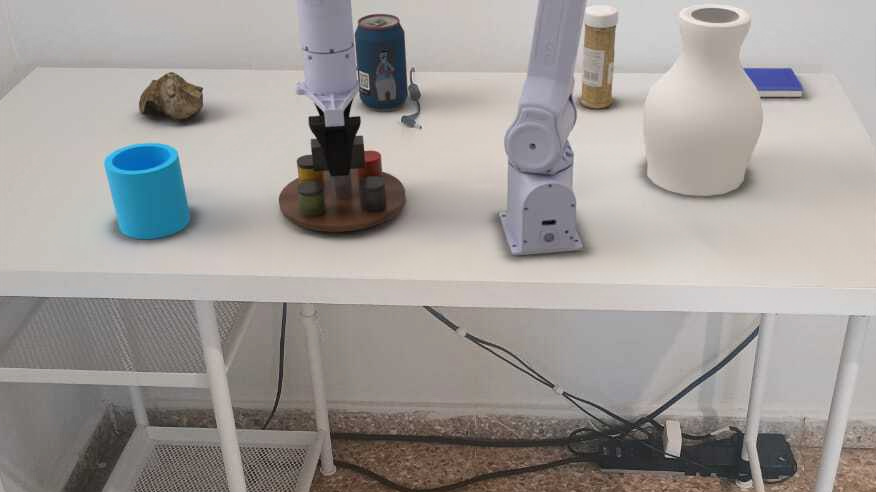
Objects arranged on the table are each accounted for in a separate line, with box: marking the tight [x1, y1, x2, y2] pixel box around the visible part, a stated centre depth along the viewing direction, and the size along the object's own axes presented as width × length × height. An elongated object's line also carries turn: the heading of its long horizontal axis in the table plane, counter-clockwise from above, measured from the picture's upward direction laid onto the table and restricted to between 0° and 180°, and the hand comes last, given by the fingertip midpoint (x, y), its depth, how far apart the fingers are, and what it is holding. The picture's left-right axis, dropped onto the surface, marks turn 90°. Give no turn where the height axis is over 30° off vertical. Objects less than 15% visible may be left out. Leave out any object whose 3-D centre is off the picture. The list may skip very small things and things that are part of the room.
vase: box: [642, 3, 764, 197], centre depth 124 cm, size 14×14×20 cm
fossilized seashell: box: [138, 71, 204, 122], centre depth 146 cm, size 8×7×10 cm
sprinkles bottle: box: [580, 4, 619, 109], centre depth 144 cm, size 5×5×14 cm
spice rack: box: [278, 134, 407, 233], centre depth 121 cm, size 15×15×8 cm
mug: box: [103, 142, 191, 240], centre depth 121 cm, size 12×8×8 cm
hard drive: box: [743, 67, 804, 98], centre depth 152 cm, size 2×8×12 cm
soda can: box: [354, 13, 409, 112], centre depth 146 cm, size 7×7×12 cm
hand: (338, 160), depth 120 cm, fingers open, 7 cm apart
